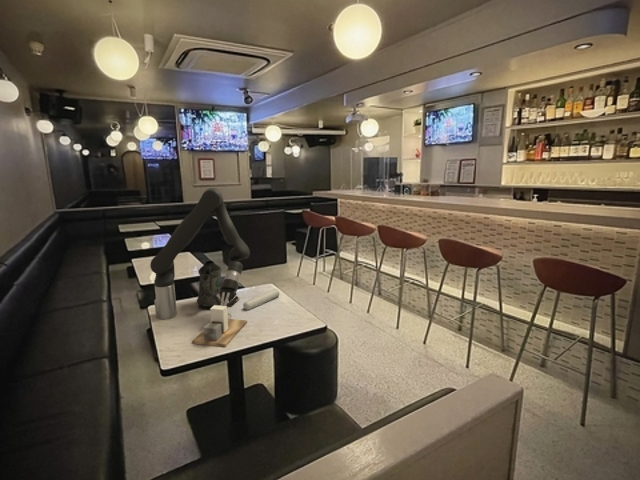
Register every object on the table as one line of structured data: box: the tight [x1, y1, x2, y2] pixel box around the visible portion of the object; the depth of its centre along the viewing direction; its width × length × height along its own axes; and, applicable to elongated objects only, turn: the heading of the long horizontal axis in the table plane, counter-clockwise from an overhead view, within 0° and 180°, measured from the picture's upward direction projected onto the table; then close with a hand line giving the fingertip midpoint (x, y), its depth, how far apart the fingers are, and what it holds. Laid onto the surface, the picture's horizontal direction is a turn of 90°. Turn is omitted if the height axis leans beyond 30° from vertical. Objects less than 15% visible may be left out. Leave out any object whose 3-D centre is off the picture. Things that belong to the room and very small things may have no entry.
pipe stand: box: [191, 313, 248, 348], centre depth 166 cm, size 16×24×7 cm, turn 169°
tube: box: [242, 288, 280, 311], centre depth 202 cm, size 5×5×25 cm
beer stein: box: [196, 260, 223, 311], centre depth 196 cm, size 16×19×25 cm
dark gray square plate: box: [210, 321, 223, 333], centre depth 163 cm, size 5×1×5 cm, turn 79°
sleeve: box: [209, 305, 229, 332], centre depth 165 cm, size 6×4×11 cm, turn 79°
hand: (221, 314), depth 167 cm, fingers closed
